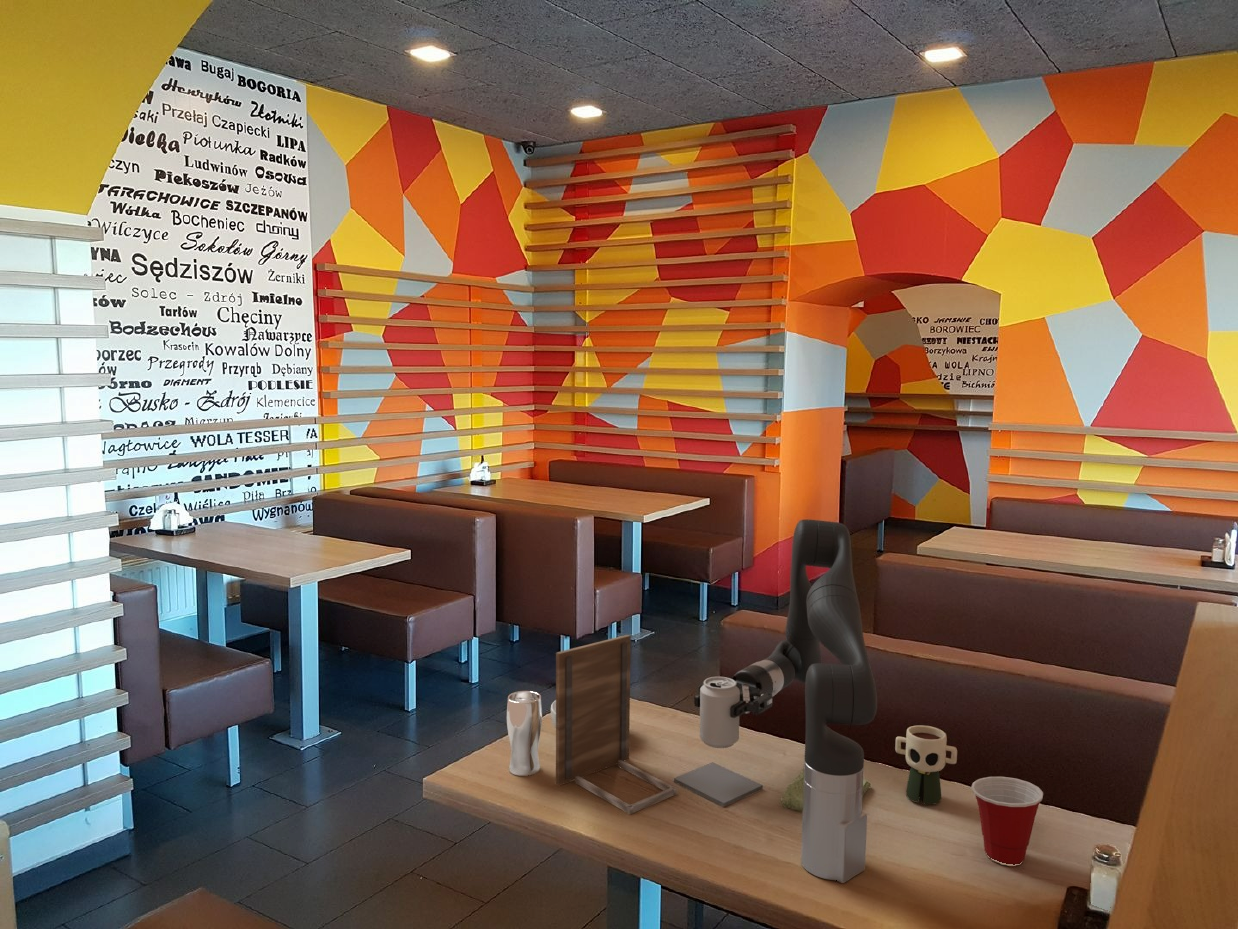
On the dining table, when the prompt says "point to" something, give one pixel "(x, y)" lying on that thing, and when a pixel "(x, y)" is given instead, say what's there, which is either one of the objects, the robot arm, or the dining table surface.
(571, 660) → the wooden stand
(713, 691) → the can
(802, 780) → the washcloth
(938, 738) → the character mug
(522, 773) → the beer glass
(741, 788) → the slate board
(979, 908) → the dining table surface
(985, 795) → the plastic cup
